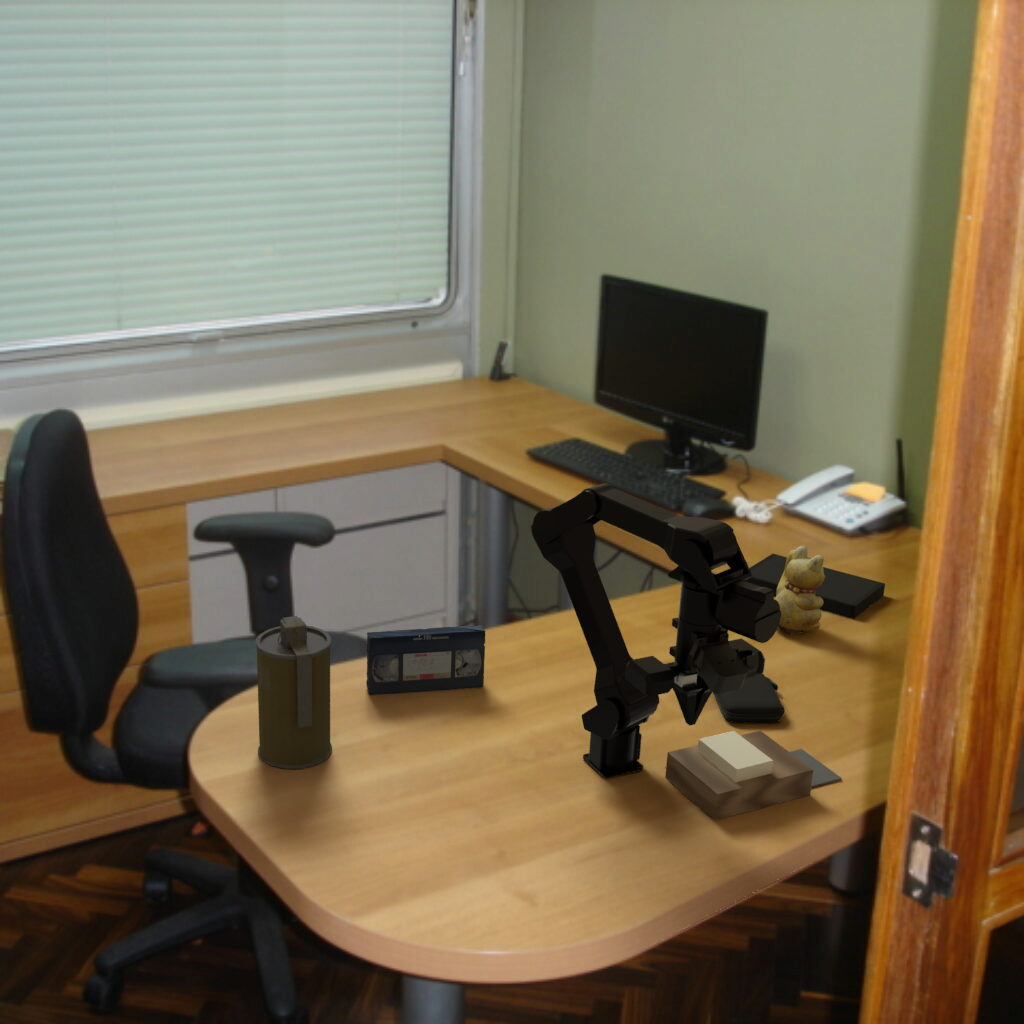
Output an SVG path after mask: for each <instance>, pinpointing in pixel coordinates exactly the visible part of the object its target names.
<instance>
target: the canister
mask: <svg viewBox="0 0 1024 1024" xmlns="http://www.w3.org/2000/svg"><path fill="white" fill-rule="evenodd" d="M279 622H280V623H279V625H280V626H276V627H272V628H269V629H266V630H265V631H262V633H260V634H259V635H258V636H257V637H256V639H255V642H254V643H255V644H254V645H255V647H256V667H257V668H256V670H257V698H258V700H257V701H258V703H257V705H258V732H259V733H258V737H259V738H258V739H259V740H258V741H259V742H258V743H259V744H258V745H259V746H258V748H257V753H258V754H257V755H258V757H259V758H260V760H261V761H262V762H264V763H266V764H267V765H269V766H271V767H275V768H279V769H289V770H290V769H291V770H301V769H305V768H310V767H315V766H317V765H319V764H321V763H323V762H324V761H326V760H327V759H329V758H330V756H331V754H332V750H333V746H332V743H331V646H332V643H333V641H332V637H331V635H330V634H329V633H328V632H327V631H325V630H323V629H322V628H319V627H316V626H313V625H307V624H306V622H305V621H303V619H302V618H301V617H298V616H297V615H293V616H287V617H281V618H280V621H279Z"/></svg>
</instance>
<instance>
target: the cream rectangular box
mask: <svg viewBox="0 0 1024 1024" xmlns="http://www.w3.org/2000/svg"><path fill="white" fill-rule="evenodd" d="M740 735H741V734H739V733H738V732H737V731H735V730H730V731H727V732H723V733H718V734H714V735H709V736H705V737H701V738H698V743H697V745H698V751H697V752H699V753H700V754H701V755H702V756H704V757H705V758H706V759H707V760H708V761H710V762H711V763H712V764H713V765H715V766H716V767H717V768H718V769H720V770H721V771H722V772H723V773H725V774H726V775H727V776H728V777H729V778H731V779H732V780H733V781H734V782H739V781H743V780H747V779H751V778H755V777H759V776H763V775H767V774H771V773H772V765H773V760H772V759H770V758H769V757H768V756H766V755H765V754H764V753H763V752H761V751H760V750H759V749H757V748H756V747H755V746H753V745H752V744H751V743H749V742H748V741H747V740H745V739H744V738H743V737H741V736H740Z"/></svg>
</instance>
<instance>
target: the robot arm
mask: <svg viewBox="0 0 1024 1024" xmlns="http://www.w3.org/2000/svg"><path fill="white" fill-rule="evenodd" d="M601 521H602V522H604V523H607V524H609V525H611V526H612V527H613V526H614V527H616V528H617V529H620V530H622V531H624V532H626V533H628V534H631V535H633V536H635V537H638V538H640V539H642V540H643V541H644V540H645V541H647V542H649V543H651V544H653V545H655V546H658V547H659V548H660V549H662V550H664V552H665V554H666V556H667V557H668V559H669V560H670V561H671V562H673V563H674V564H675V565H677V566H676V568H674V569H672V570H670V571H668V572H667V577H668V578H670V579H672V580H675V581H678V582H680V583H681V586H680V598H679V606H678V607H679V608H678V609H679V610H678V617H673V618H672V620H671V626H672V627H674V628H675V629H677V630H676V641H675V645H674V646H673V645H672V646H669V656H672V657H673V658H674V661H672V662H667V663H664V662H662V661H660V660H659V659H658V658H657V657H656V656H654V655H650V656H649V655H648V656H644V657H640V658H635V659H634V658H633V657H632V656H631V655H630V653H629V651H628V647H627V645H626V643H625V640H624V637H623V634H622V632H621V629H620V627H619V624H618V621H617V618H616V616H615V612H614V611H613V608H612V605H611V602H610V600H609V598H608V594H607V592H606V589H605V587H604V585H603V580H602V579H601V576H600V573H599V572H598V568H597V565H596V563H595V558H594V557H595V552H596V551H595V550H596V543H597V535H596V531H595V527H594V526H595V525H597V524H598V523H600V522H601ZM530 531H531V535H532V537H533V540H534V542H535V543H536V545H537V547H538V550H539V551H540V553H541V555H542V557H543V559H545V560H546V561H547V562H548V563H549V564H551V565H552V567H554V568H555V569H556V570H557V571H559V573H560V575H561V577H562V581H563V583H564V585H565V588H566V590H567V593H568V596H569V598H570V601H571V604H572V606H573V609H574V612H575V614H576V617H577V621H578V622H579V625H580V628H581V631H582V633H583V636H584V639H585V642H586V644H587V646H588V648H589V651H590V655H591V657H592V660H593V663H594V666H595V669H596V671H595V679H594V685H593V686H594V687H593V693H594V696H595V701H596V705H594V706H593V707H591V708H590V709H589V710H587V711H585V712H584V713H582V714H581V721H582V724H583V725H582V726H583V729H584V730H585V731H587V732H590V738H589V751H588V752H587V753H584V754H583V756H582V759H583V760H584V761H585V762H586V763H587V764H588V765H589V766H591V767H592V768H593V769H594V770H595V771H596V772H597V773H598V774H599V775H600V776H601V777H602V778H604V779H610V778H614V777H618V776H623V775H626V774H631V773H635V772H639V771H643V769H644V765H643V764H642V763H641V762H640V761H639V760H640V758H641V751H642V750H641V749H642V748H641V747H642V738H643V737H642V735H643V734H642V733H641V732H640V731H641V725H642V724H644V723H647V722H648V720H649V718H650V716H652V715H654V713H655V712H657V709H658V705H659V704H660V696H659V695H662V694H663V695H664V694H668V693H670V692H671V690H673V692H674V694H675V697H676V699H677V702H678V706H679V707H680V708H679V709H680V710H681V713H682V716H683V719H684V721H685V724H686V725H688V726H694V725H696V723H697V721H698V720H699V717H700V716H701V713H702V711H703V710H704V708H705V705H706V703H707V702H708V700H709V698H710V696H711V695H712V694H714V693H715V694H722V693H724V692H727V691H732V690H735V691H736V690H740V689H741V688H742V685H743V683H744V680H745V679H749V678H754V677H755V674H760V673H763V674H764V671H765V665H766V658H765V655H764V653H763V652H762V651H761V650H760V649H759V648H757V647H755V646H753V645H752V644H751V643H749V642H748V641H746V640H745V639H743V638H736V639H733V640H729V638H730V637H729V635H730V634H729V633H728V632H732V633H734V634H737V635H740V636H742V637H745V638H747V639H749V640H752V641H755V642H758V643H760V644H766V643H767V642H769V641H770V640H771V639H772V638H773V637H774V635H775V633H776V632H777V630H778V628H779V623H780V620H781V611H780V606H779V603H778V602H777V600H775V597H774V590H772V589H769V588H767V587H760V586H757V585H754V584H751V583H749V582H746V581H745V580H747V579H749V578H751V577H752V573H751V571H750V569H749V568H750V566H749V565H748V562H747V560H746V558H745V556H744V553H743V551H742V549H741V547H740V545H739V543H738V540H737V537H736V534H735V533H734V529H733V527H731V525H730V524H728V523H726V522H725V521H721V520H718V519H717V520H716V519H712V518H708V517H707V518H706V517H702V516H701V517H698V516H696V517H694V516H683V515H680V514H676V513H673V512H671V511H669V510H667V509H665V508H662V507H659V506H658V505H655V504H653V503H651V502H648V501H645V500H643V499H641V498H639V497H636V496H633V495H632V494H629V493H627V492H624V491H623V490H620V489H618V488H617V486H614V485H613V484H611V483H607V482H605V483H600V484H598V485H594V486H590V487H587V488H585V489H583V490H582V491H581V492H580V493H578V494H576V495H575V496H574V497H572V498H571V499H569V500H567V501H565V502H563V503H561V504H558V505H555V506H552V507H549V508H548V507H547V508H545V509H542V510H540V511H538V512H537V513H536V514H535V515H534V517H533V521H532V523H531V525H530ZM725 565H727V566H728V567H729V568H728V569H726V570H723V571H720V572H718V573H714V572H713V571H714V570H715V569H718V568H721V567H723V566H725Z"/></svg>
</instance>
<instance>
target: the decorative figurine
mask: <svg viewBox="0 0 1024 1024" xmlns="http://www.w3.org/2000/svg"><path fill="white" fill-rule="evenodd" d="M808 552H809V551H808V548H807V547H806V545H799V546H798V547H797V548H795V549H792V550H790V551H789V552H788V555H787V556H786V557H787V560H786V565H785V570H784V573H783V575H782V577H781V579H780V582H779V584H778V587H777V591H776V597H774V599H775V600H777V602H778V603H779V606H780V611H781V620H780V623H779V626H778V628H780V629H782V630H783V631H785V632H787V633H788V634H790V635H795V634H806V633H811V632H813V631H814V630H818V629H819V628H820V627H821V622H820V620H821V619H822V616H823V614H822V610H820V607H822V606H823V603H824V602H823V599H822V598H821V597H819V596H816V593H815V589H816V588H818V587H819V586H820V585H821V584H822V583H823V582H824V580H825V575H824V570H823V567H824V566H823V564H824V562H825V559H824V556H822V555H821V554H818V555H815V556H813V557H808Z"/></svg>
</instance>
